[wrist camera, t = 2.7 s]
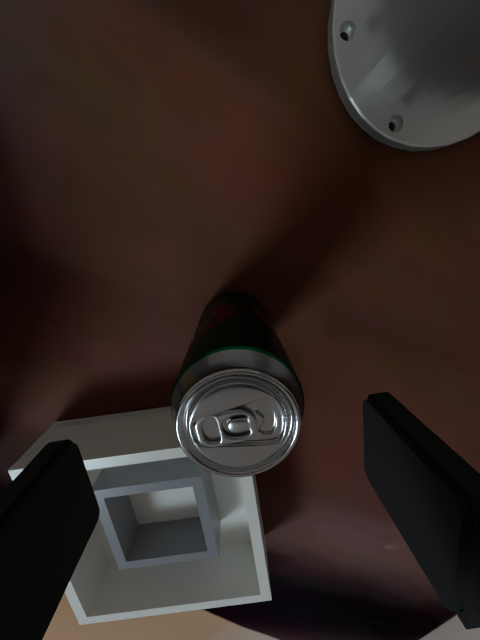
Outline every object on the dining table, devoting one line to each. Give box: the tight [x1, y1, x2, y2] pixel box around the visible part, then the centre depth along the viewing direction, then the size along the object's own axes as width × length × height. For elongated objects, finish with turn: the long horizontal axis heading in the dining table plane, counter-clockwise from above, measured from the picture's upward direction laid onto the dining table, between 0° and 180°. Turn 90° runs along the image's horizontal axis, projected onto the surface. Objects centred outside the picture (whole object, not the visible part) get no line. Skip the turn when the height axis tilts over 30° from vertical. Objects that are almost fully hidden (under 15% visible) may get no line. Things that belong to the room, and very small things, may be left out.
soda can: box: [170, 292, 304, 477], centre depth 15 cm, size 5×5×12 cm
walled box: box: [8, 406, 272, 625], centre depth 23 cm, size 16×16×5 cm
